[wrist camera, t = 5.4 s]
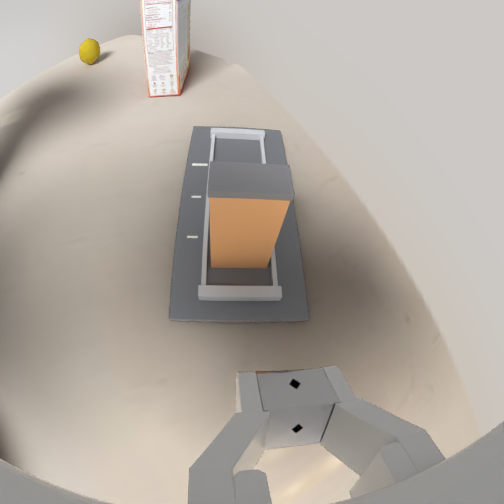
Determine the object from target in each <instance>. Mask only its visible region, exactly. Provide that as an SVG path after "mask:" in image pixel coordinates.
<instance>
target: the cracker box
mask: <svg viewBox="0 0 504 504" xmlns="http://www.w3.org/2000/svg"><path fill="white" fill-rule="evenodd" d="M140 2H141V21H142V35H143V47H144V58H145V67H146V76H147V83H148V92H149V97H158V96H176V95H180V94H181V90H182V88H183V85H184V81H185V78H186V76H187V73H188V70H189V67H190V2H191V0H140Z"/></svg>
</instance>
